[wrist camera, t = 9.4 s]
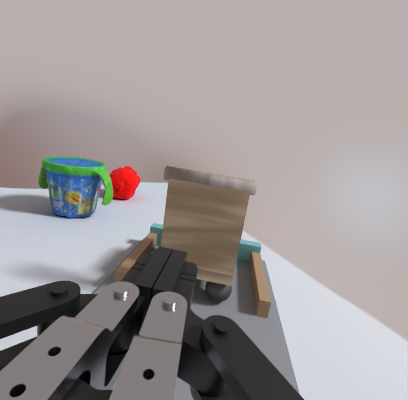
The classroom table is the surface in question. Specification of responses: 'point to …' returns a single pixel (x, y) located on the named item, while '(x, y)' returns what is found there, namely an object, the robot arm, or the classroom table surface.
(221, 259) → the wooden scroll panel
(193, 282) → the robot arm
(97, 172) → the snack cup
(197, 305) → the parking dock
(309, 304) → the classroom table surface
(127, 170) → the flower
